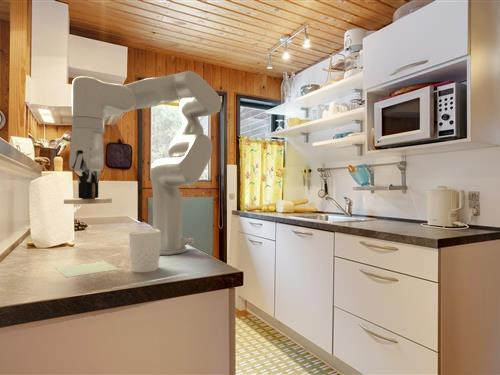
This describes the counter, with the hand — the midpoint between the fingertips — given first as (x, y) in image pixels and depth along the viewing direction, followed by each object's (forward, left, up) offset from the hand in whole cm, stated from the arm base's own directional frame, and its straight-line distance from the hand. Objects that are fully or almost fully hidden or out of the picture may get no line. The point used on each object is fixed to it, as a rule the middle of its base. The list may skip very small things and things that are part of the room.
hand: (88, 197), depth 81 cm
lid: (0, 0, -1) cm, 1 cm away
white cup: (-11, +10, -19) cm, 24 cm away
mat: (0, 0, -19) cm, 19 cm away
